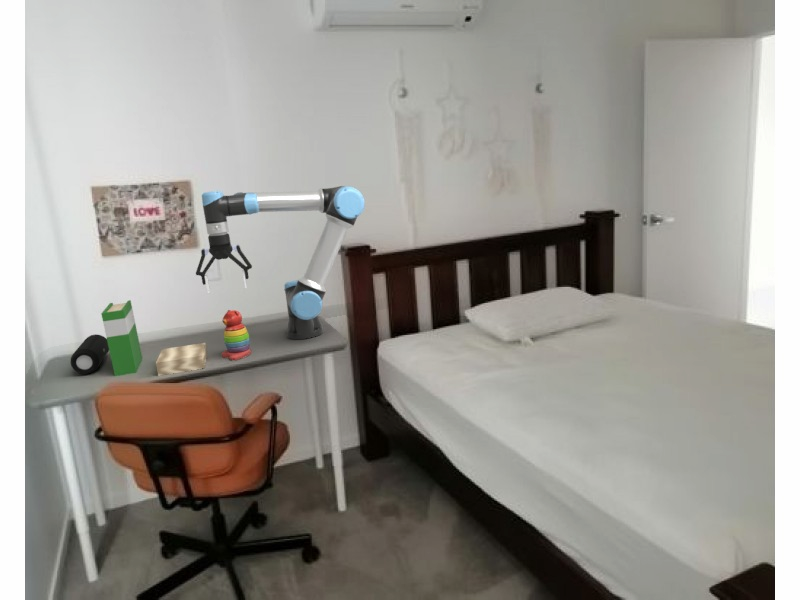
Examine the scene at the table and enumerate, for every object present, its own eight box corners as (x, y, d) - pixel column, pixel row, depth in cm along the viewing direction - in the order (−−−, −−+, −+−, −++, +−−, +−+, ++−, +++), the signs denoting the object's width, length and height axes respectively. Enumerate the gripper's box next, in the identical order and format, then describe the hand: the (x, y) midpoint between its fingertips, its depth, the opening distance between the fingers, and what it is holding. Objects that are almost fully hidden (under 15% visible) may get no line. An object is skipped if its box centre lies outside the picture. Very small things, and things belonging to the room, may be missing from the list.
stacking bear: (220, 356, 232) (212, 312, 228) (243, 349, 239) (236, 305, 234) (232, 361, 224) (225, 316, 220) (257, 354, 231) (250, 309, 226)
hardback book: (122, 361, 237) (110, 303, 231) (142, 358, 239) (130, 300, 233) (114, 376, 220) (101, 313, 215) (136, 372, 222) (123, 310, 217)
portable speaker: (100, 373, 225) (95, 348, 223) (71, 378, 223) (65, 353, 221) (113, 354, 249) (108, 331, 247) (87, 358, 247) (81, 335, 245)
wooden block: (207, 354, 236) (205, 342, 234) (204, 368, 219) (201, 355, 218) (164, 361, 232) (162, 349, 231) (158, 375, 216) (155, 362, 215)
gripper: (181, 239, 214) (191, 296, 219) (253, 231, 219) (261, 287, 224) (184, 236, 221) (193, 292, 226) (253, 229, 226) (261, 283, 231)
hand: (227, 290), depth 225 cm, fingers open, 13 cm apart
